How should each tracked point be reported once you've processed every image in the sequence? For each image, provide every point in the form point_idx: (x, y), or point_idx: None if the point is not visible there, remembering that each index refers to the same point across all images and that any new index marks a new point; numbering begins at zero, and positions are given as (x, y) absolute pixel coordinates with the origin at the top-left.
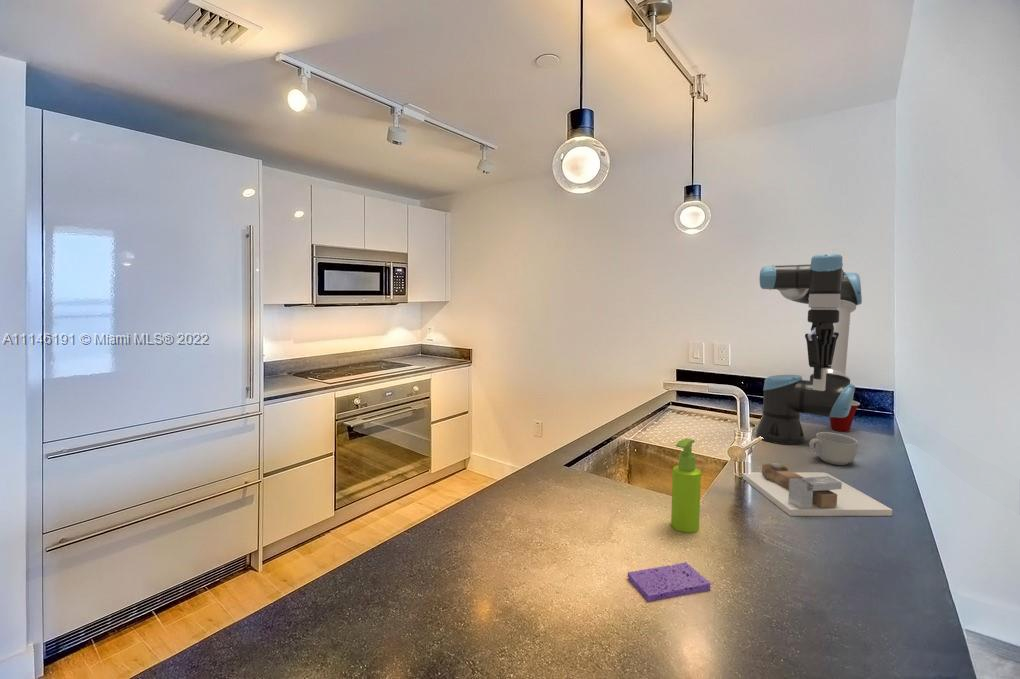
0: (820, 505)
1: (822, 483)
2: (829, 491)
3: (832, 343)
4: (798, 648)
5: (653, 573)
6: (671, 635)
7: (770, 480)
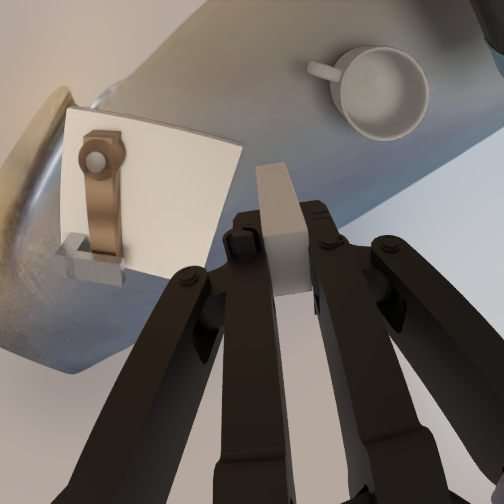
0: None
1: (91, 280)
2: None
3: (465, 437)
4: (8, 344)
5: None
6: None
7: None
